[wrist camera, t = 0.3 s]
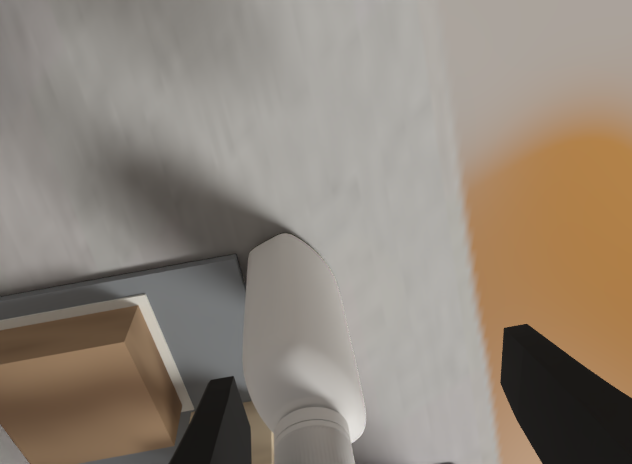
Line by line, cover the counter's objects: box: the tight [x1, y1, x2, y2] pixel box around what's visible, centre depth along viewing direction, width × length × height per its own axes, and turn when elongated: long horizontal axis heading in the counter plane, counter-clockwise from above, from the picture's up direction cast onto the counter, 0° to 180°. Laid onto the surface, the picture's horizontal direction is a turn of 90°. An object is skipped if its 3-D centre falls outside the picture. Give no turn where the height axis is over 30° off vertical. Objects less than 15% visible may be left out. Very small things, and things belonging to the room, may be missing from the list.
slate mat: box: [0, 254, 252, 464], centre depth 25 cm, size 14×12×1 cm
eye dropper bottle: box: [242, 233, 366, 464], centre depth 17 cm, size 4×6×12 cm
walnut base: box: [0, 305, 182, 464], centre depth 23 cm, size 7×7×2 cm
